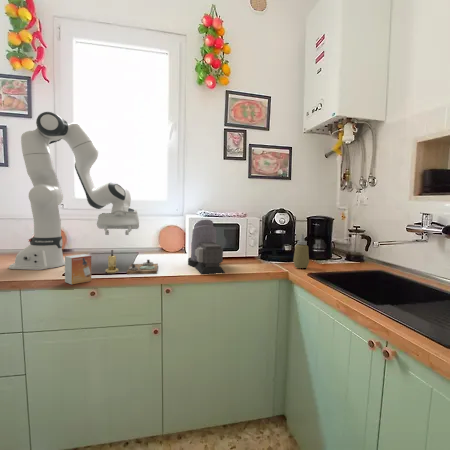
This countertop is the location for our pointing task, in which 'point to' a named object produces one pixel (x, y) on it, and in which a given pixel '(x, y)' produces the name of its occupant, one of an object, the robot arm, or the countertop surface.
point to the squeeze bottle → (301, 253)
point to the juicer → (205, 249)
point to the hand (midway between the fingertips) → (116, 234)
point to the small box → (77, 268)
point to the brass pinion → (112, 264)
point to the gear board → (143, 268)
